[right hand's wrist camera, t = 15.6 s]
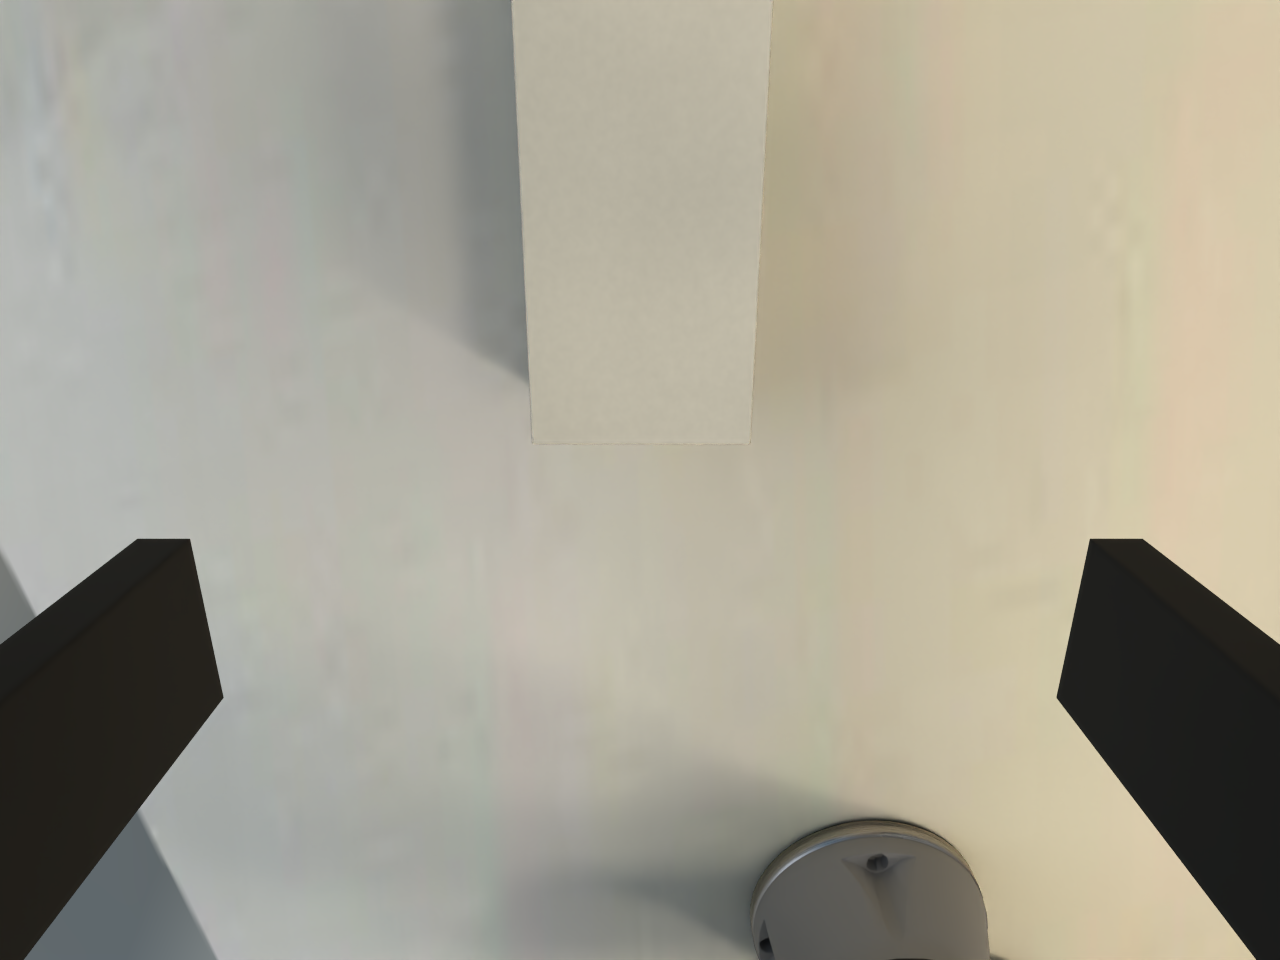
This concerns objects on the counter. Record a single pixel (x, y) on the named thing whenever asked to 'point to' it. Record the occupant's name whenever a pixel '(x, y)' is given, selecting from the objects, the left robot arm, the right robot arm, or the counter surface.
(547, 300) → the thick board
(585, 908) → the counter surface
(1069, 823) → the counter surface
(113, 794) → the right robot arm
